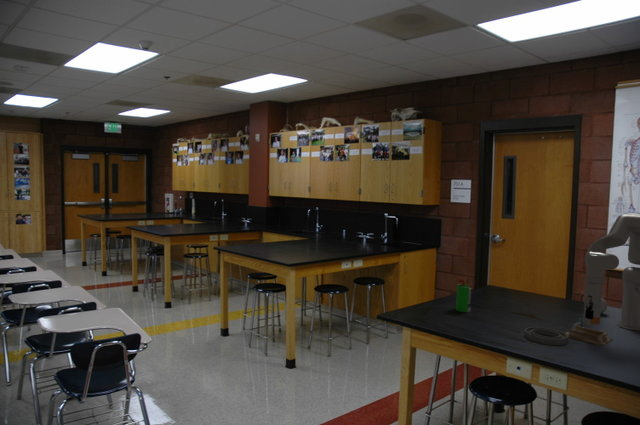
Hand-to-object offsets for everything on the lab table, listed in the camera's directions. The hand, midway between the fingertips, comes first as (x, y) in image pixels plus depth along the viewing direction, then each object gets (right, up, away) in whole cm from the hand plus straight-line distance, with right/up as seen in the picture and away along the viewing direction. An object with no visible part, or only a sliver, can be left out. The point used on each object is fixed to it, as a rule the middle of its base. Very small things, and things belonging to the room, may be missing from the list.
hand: (591, 317), depth 221 cm
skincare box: (0, -4, 0) cm, 4 cm away
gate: (0, -9, +14) cm, 16 cm away
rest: (-1, -10, +2) cm, 11 cm away
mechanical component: (-22, -10, -1) cm, 25 cm away
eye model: (+31, -9, +48) cm, 58 cm away
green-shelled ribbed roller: (-47, -6, +46) cm, 66 cm away
